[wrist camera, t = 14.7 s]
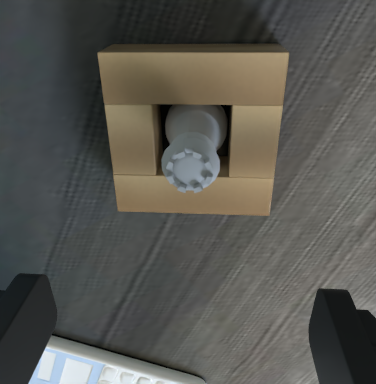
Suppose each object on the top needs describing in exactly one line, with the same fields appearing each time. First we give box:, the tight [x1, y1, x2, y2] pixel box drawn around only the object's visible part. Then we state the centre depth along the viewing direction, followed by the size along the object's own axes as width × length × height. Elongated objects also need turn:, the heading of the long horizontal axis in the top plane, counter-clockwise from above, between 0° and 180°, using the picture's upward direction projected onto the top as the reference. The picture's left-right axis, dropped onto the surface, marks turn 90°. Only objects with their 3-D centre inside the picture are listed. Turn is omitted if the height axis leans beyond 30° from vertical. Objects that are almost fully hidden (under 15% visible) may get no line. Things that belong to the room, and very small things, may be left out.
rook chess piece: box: [161, 104, 228, 193], centre depth 22 cm, size 4×4×8 cm
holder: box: [97, 44, 289, 216], centre depth 24 cm, size 11×11×4 cm
